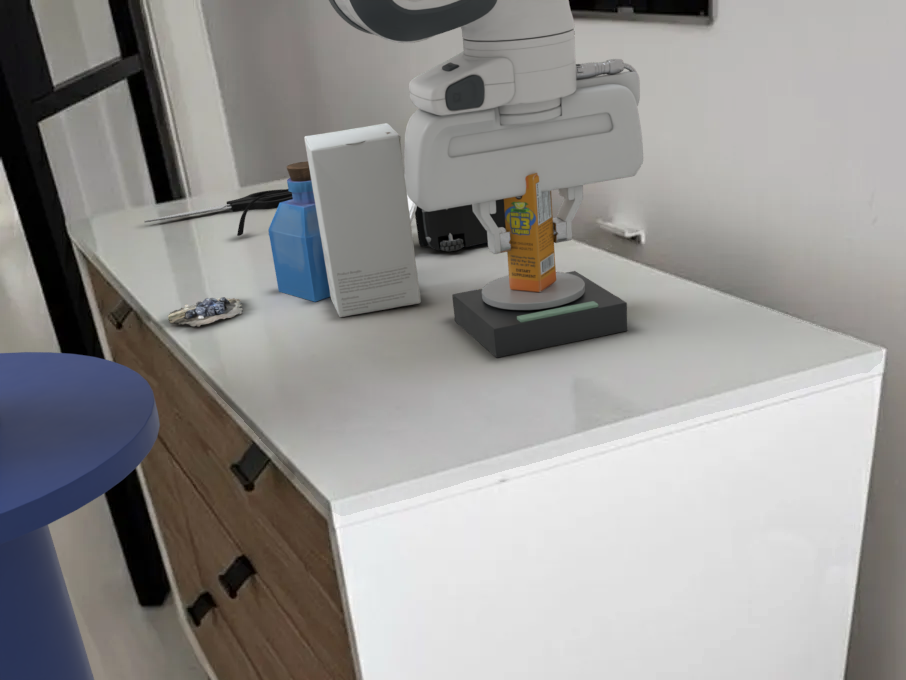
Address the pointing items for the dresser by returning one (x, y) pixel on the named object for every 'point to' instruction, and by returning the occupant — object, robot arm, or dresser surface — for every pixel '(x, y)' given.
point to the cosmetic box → (364, 218)
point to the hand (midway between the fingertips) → (530, 246)
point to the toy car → (454, 227)
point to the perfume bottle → (299, 240)
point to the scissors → (242, 204)
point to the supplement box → (530, 238)
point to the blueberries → (206, 311)
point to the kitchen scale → (538, 314)
